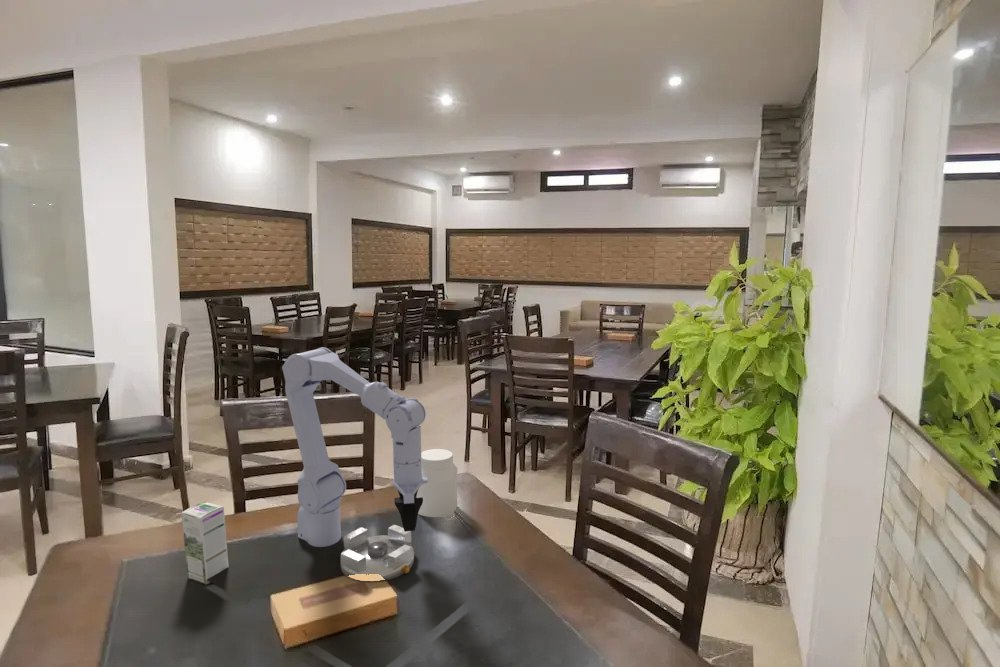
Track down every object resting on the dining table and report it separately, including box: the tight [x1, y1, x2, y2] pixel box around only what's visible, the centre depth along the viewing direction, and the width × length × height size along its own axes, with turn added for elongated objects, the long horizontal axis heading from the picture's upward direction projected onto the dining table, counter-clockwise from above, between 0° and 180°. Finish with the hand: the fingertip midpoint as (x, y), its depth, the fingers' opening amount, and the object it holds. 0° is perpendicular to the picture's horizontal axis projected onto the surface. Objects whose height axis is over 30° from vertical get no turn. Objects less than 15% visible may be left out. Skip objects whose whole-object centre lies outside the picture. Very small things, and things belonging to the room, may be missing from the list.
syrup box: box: [181, 501, 230, 585], centre depth 119 cm, size 6×6×14 cm
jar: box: [416, 448, 458, 519], centre depth 149 cm, size 12×10×15 cm
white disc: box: [340, 524, 415, 581], centre depth 123 cm, size 16×15×4 cm
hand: (409, 521), depth 123 cm, fingers open, 7 cm apart
